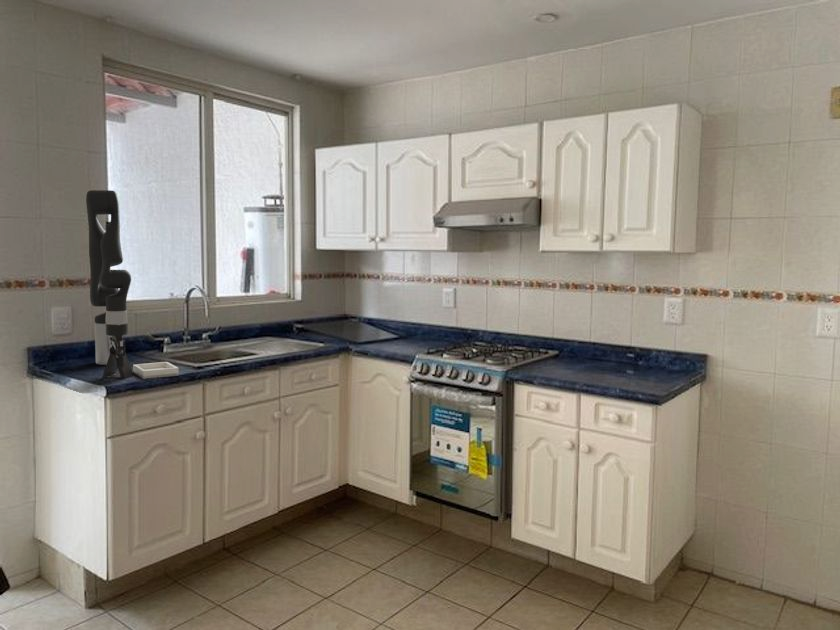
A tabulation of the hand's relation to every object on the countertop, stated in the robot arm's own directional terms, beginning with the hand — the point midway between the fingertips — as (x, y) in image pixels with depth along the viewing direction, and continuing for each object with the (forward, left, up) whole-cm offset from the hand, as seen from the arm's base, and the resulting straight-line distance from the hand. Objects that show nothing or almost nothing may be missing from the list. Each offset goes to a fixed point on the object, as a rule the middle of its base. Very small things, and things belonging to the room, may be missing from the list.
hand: (117, 365), depth 244 cm
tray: (+1, +13, -4) cm, 14 cm away
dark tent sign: (0, 0, -4) cm, 4 cm away
